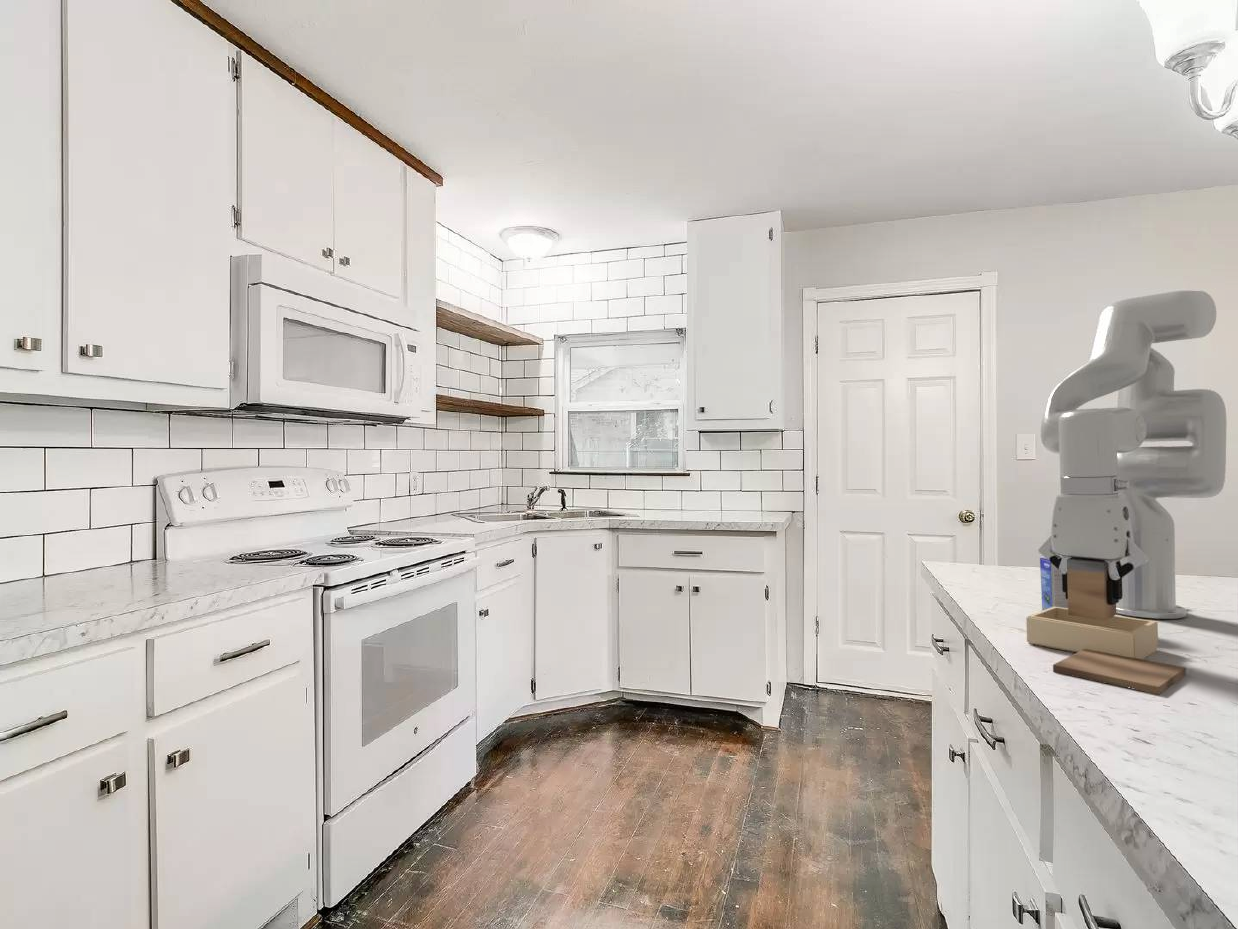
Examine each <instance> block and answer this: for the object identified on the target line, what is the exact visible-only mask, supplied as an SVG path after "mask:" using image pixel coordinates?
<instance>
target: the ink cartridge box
mask: <svg viewBox="0 0 1238 929" xmlns="http://www.w3.org/2000/svg"><path fill="white" fill-rule="evenodd" d="M1062 557H1063V556H1061V558H1062ZM1039 568H1040V583H1041V584H1040V589H1041V611H1043V610H1046V609H1048V608H1051V607H1061V608H1068V599H1066V596H1065V592H1063V590H1062V574H1061V573H1059V570H1058V569H1057V568H1056V567H1055V566H1054V565H1053V564H1052V563H1051V562H1050V560H1048V559H1047V558H1045V557H1040V558H1039Z"/></svg>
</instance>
